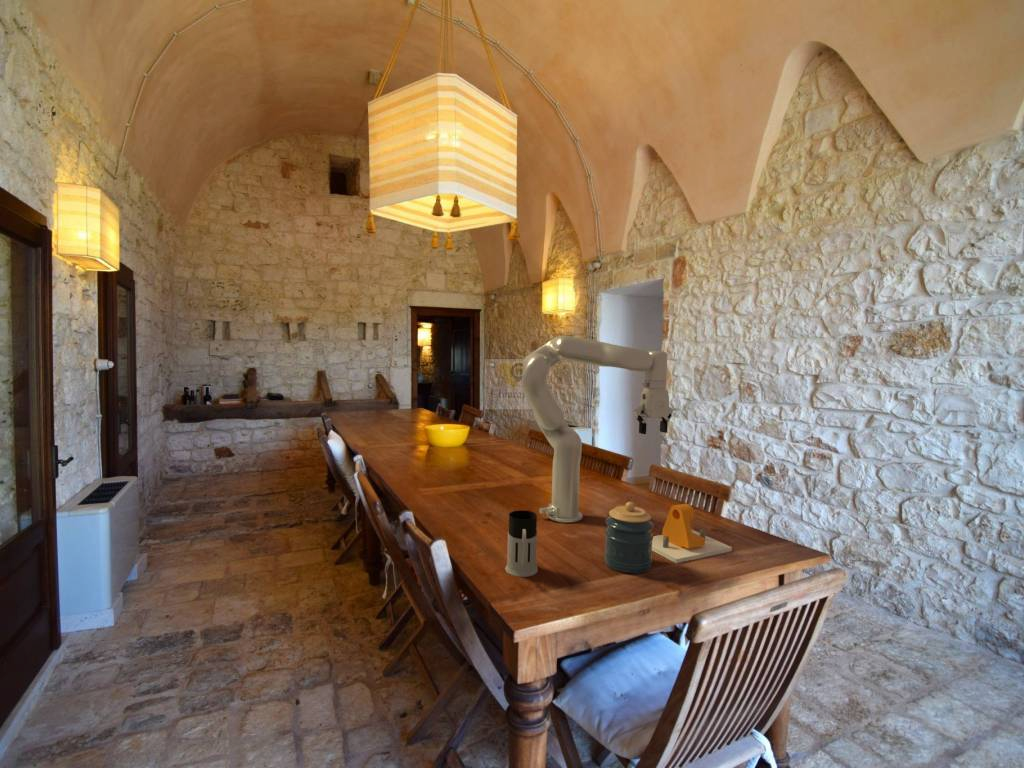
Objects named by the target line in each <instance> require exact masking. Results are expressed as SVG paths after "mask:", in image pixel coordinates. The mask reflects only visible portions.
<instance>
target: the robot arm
mask: <svg viewBox="0 0 1024 768" xmlns="http://www.w3.org/2000/svg"><path fill="white" fill-rule="evenodd" d="M561 361H568V362H573V363H579V364H585V365H590V366H597V367H605V368H606V367H609V368H617V369H623V370H628V371H630V372H631V371H632V372H641V373H644V379H643V381H644V382H643V383H642V386H643V389H642V392H641V398H640V404H639V405H640V406H639V407H637V408H636V409H634V410H633V415H634V416H635V418H636V420H637V423H639V424H638V433H639V434H641V435H646V434H647V426H648V425H647V420H648V419H649V418H650V419H657V418H658V419H659V418H660V421H659V432H660V433H665V434H667V433H668V423H669V422H670V419H671V418H672V417H673V413H674V409H673V408H672V407H671V406H670V396H669V390H668V389H667V374H668V371H667V370H668V369H667V368H668V352H666V351H663V350H662V351H661V350H649V351H647V350H645V349H641V348H636V347H630V346H623V345H618V344H612V343H609V342H605V341H604V342H603V341H599V340H598V341H597V340H592V339H587V338H581V337H575V336H569V335H559V336H556V337H554V338H552V339H550V340H549V341H548V342H547V343H544V345H542V346H540V347H539V348H537V349H535V350H534V351H532V352H531V353H529V354H528V355H527V356H525V358H524V359H523V362H522V369H523V372H522V375H521V376H522V377H521V389H522V393H523V394H524V397H525V399H526V400H527V402H528V404H529V406H530V408H531V409H532V411H533V417H534V420H535V422H536V424H537V425H538V428H539V429H540V430H541V432H542V433H543V435H544V437H545V438H546V440H547V441H548V443H549V444H550V446H551V447H552V448H553V458H552V469H551V471H552V475H551V477H552V478H551V479H552V483H551V503H548V506H547V507H540V508H539V509H538V511H539V514H540V515H541V514H546V516H547V518H548V519H549V520H552V521H554V522H558V523H567V524H568V523H576V522H580V521H582V519H583V513H582V512H581V511H579V500H580V496H579V495H580V493H579V492H580V471H581V470H580V467H581V466H580V465H581V456H582V451H583V441H582V438H581V437H580V435H579V434H578V432H576V431H575V430H573V429H572V428H570V426H569V424H568V422H567V421H566V419H565V413H564V411H563V408H561V406H560V405H559V402H557V400H556V398H555V397H554V395H553V394H552V392H551V390H550V388H549V387H548V384H547V378H548V375H549V372H550V370H551V368H553V367H554V366H556V365H557V364H558V363H560V362H561Z"/></svg>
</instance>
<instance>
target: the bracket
mask: <svg viewBox="0 0 1024 768" xmlns="http://www.w3.org/2000/svg"><path fill="white" fill-rule="evenodd" d="M694 519H695V510H694V508H693V507H692V506H691V505H690V504H689V503H682V504H676V505H672V506H671V507H670V508H669V511H668V514H667V516H666V520H665V523H664V524H663V528H662V530H661V531H662V533H661V535H662V536H668V537H669V542H670V543H672V544H674V545H676V546H678V547H680V548H685V547H686V548H688V549H690V548H694V547H699V546H704V545H705V538H703V537H701V536H699V535H697V534H694V533H692V530H693V529H692V526H691V522H692V521H693V520H694ZM691 529H692V530H691Z"/></svg>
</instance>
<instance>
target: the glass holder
mask: <svg viewBox="0 0 1024 768" xmlns="http://www.w3.org/2000/svg"><path fill="white" fill-rule="evenodd" d="M537 516H538V515H537V513H536V512H534V511H531V510H520V509H519V510H514V511H511V512H509V513H508V529H507V554H506V557H507V558H506V559H507V561H506V566H505V568H504V570H505V572H506V573H507V574H509V575H510V574H511V576H513V575H514V577H518V576H519V578H527V577H531V576H534V575H535V574H537V573H538V566H537V555H538V554H537V550H538V549H537V546H538V530H537V527H538V526H537V525H538V522H537V521H538V517H537Z"/></svg>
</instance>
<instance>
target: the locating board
mask: <svg viewBox="0 0 1024 768" xmlns="http://www.w3.org/2000/svg"><path fill="white" fill-rule="evenodd" d="M691 530H692V533H694V534H697V535H699V536H701V537H703V538H705V545H704V546H699V547H694V548H690V549H688V548H686V547H685V548H680V547H678V546H676V545H674V544H672V543H670V542H669V537H668V536H662V534H660V535H659V534H658V535H654V536H653V540H652V552H655V553H657V554H659V555H660V556H661V557H664V558H666V559H667V560H669V561H671V562H672V563H674V562H675V564H679V563H685V562H689V560H690V561H693V560H698V559H702V558H703V559H704V558H707V557H712V556H717V555H720V554H726V553H731V552H732V551H733V547H732V546H729V545H727V544H725V543H723V542H720V541H718V540H716V539H714V538H712V537H710V536H707V535H706V533H707V532H706V531H707V530H706V529H703V528H702V529H700V530H699V532H698V531H696V530H694V529H692V528H691ZM684 561H685V562H684Z"/></svg>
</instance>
